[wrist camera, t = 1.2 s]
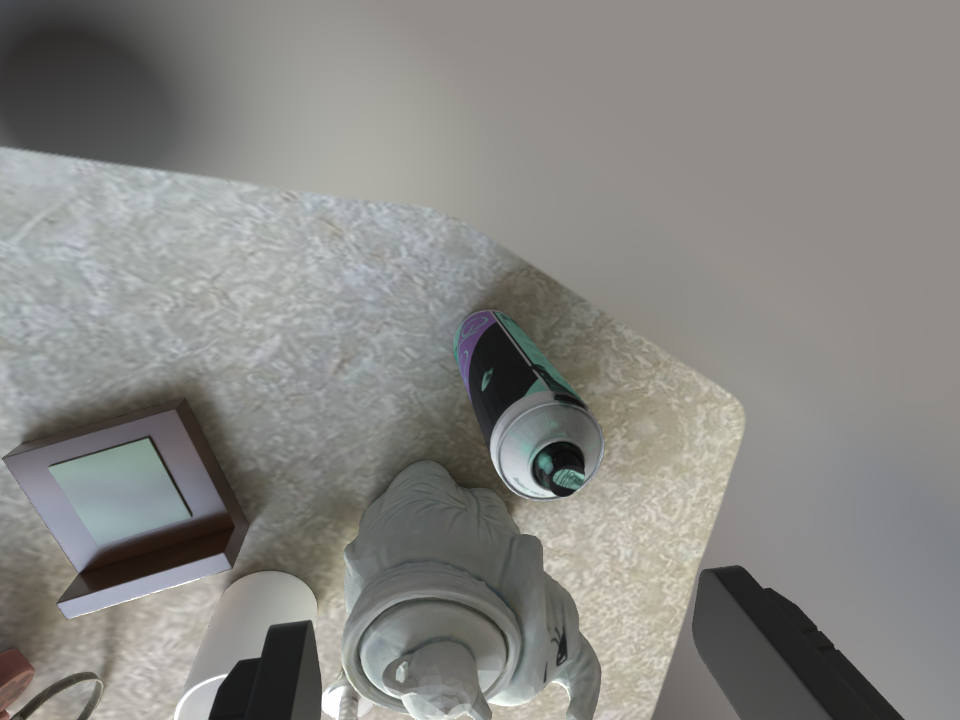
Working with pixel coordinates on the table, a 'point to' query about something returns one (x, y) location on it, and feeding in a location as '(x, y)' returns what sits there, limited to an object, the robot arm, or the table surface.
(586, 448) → the spray can
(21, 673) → the binoculars
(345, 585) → the teapot
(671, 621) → the table surface
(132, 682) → the table surface
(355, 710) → the screw
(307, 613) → the cup
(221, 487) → the brown wooden square frame
